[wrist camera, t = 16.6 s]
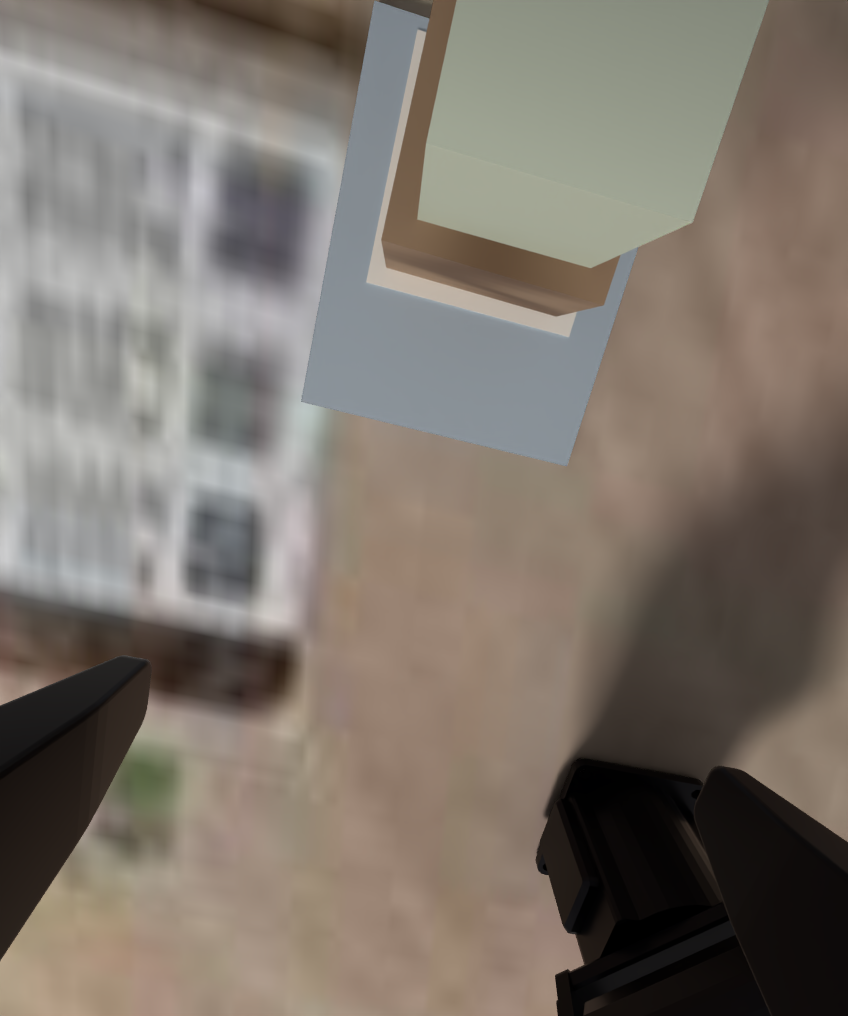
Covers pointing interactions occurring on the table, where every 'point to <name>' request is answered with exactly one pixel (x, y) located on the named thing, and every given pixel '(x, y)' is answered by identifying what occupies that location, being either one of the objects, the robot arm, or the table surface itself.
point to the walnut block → (464, 254)
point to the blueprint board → (437, 304)
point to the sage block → (582, 119)
